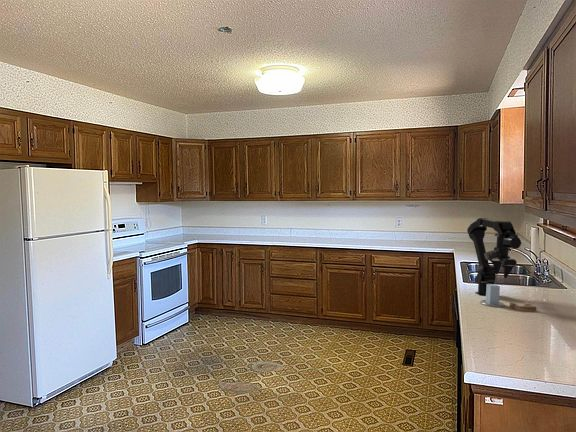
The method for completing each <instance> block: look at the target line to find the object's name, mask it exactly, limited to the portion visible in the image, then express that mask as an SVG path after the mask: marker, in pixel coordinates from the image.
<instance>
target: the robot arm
mask: <svg viewBox="0 0 576 432" xmlns="http://www.w3.org/2000/svg"><path fill="white" fill-rule="evenodd" d="M488 228H491V229H493V230H494V231H495V232H496V233H494V236H495V237H496V246H494V247H493V249H492V250H489V251H487V250H486V247H485V244H484V243H485V242H484V238H485V235H486V231H487V230H488ZM514 228H515V227H514V226H513V224H512V222H511V221H510V220H494V219H490V218H487V217H479V218H477V219H476V220H475V221H473V222H471V224H470V225H469V226H468V228H467V231H466V233H467V234H468V237H469V238H470V240H471V241H472V242H473V245H474V249H475V253H476V258H477V263H478V269H477V274H476V275H475V277H474V279H473V280H474V283H475V284H477V286H478V288H477V291H475V292H474V293H475V294H477V295H478V296H480V297H481V296H483V297H486V287H487V284H495V282H496V281H495V280H496V277H497V275H498V274H499V272H500V270H501V267H502V269H503V279H507V278H508V276H509V275H510V273H511V272H512V270H513V269H514V268H515V267H516V266H517V264H518V262H517V260H516V259H514V258H511V257H510V255H509V252H510V251H511V249H514V250H515V249H518V248H520V247H521V246H522V240H521V239H520V237H518V236H519V234H517V233H516V230H515V229H514ZM490 263H492V266H491V265H490Z"/></svg>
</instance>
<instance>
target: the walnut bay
mask: <svg viewBox="0 0 576 432" xmlns="http://www.w3.org/2000/svg"><path fill="white" fill-rule="evenodd" d="M509 307H510V308H512V309H514V310H516V311H518V312H537V307H536V306H535V305H534V304H531V303H530V302H527V301H526V302H525V301H524V302H523V305H519V304H517V303H516V302H512V301H510V302H509Z"/></svg>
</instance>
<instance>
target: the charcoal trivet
mask: <svg viewBox="0 0 576 432" xmlns="http://www.w3.org/2000/svg"><path fill="white" fill-rule="evenodd" d="M479 303H480V304H481V305H483V306H485V307H491V308H504V307H505V303H504V302H502V301H499V304H489V303H487V302H486V299H483V300H480V302H479Z"/></svg>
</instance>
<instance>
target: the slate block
mask: <svg viewBox="0 0 576 432" xmlns="http://www.w3.org/2000/svg"><path fill="white" fill-rule="evenodd" d="M500 290H501V286H500V285H499V284H496V283H494V284H487V287H486V296H485V300H486V302H487V303H489V304H499V302H500V293H501V292H500Z"/></svg>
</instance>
